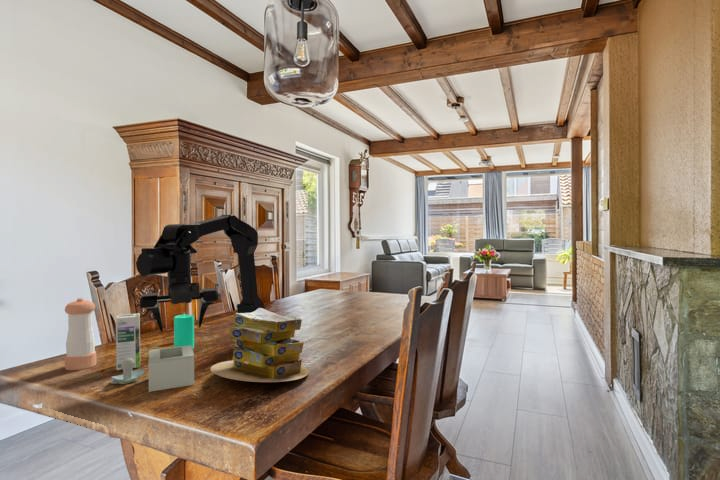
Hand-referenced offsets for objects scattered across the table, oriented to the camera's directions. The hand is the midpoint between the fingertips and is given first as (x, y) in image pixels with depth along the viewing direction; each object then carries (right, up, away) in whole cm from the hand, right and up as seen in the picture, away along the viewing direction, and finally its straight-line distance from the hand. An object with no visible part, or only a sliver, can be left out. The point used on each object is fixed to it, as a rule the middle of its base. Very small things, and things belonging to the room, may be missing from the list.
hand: (181, 329), depth 107 cm
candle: (-9, -12, +23) cm, 27 cm away
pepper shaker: (-31, -12, +6) cm, 33 cm away
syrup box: (-17, -12, +6) cm, 22 cm away
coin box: (0, -12, -6) cm, 13 cm away
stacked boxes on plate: (+22, -12, -2) cm, 25 cm away
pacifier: (-11, -12, -5) cm, 18 cm away
